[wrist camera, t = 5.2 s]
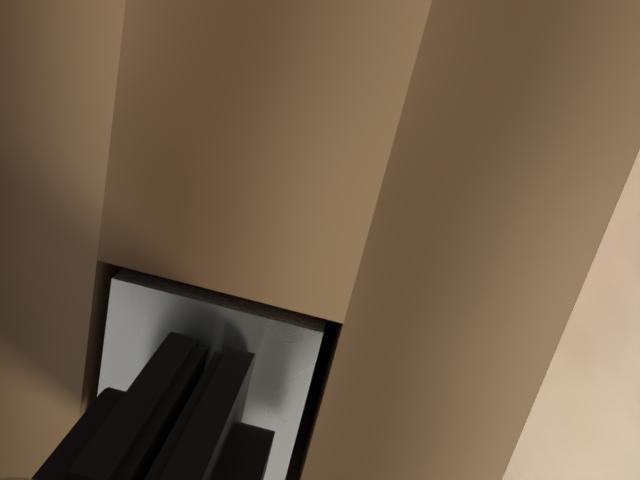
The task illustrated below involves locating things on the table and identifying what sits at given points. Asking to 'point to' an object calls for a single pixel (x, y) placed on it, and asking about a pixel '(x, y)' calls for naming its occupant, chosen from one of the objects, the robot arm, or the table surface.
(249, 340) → the pin
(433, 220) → the walnut block
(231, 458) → the robot arm
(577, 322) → the table surface
